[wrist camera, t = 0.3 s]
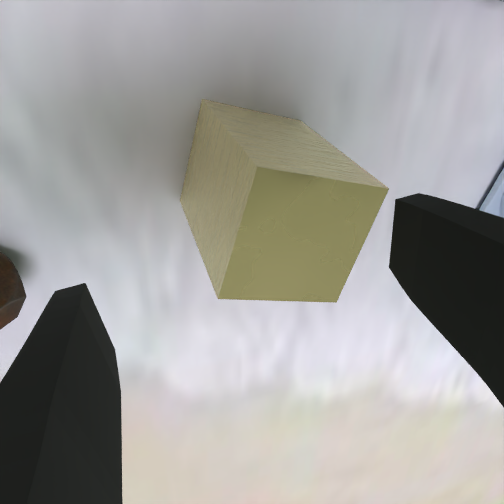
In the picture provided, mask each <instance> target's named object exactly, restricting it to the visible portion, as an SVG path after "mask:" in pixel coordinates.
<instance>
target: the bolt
mask: <svg viewBox="0 0 504 504" xmlns="http://www.w3.org/2000/svg"><path fill="white" fill-rule="evenodd" d="M25 299H26V294H25V290H24V287H23V283H22V281H21V278H20V276H19V274H18V271H17V270H16V268H15V266H14V264H13V263H12V262H11V260H10V259H9V258H8V257H7V256H6V255H5V254H3V253H2V252H0V329H2V328H3V327H4V326H6V325H7V324H8V323H10V322H11V321H12V320H14V319H15V318H17V317H18V315H19V312H20V310H21V308H22V306H23V303H24V301H25Z"/></svg>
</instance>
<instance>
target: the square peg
mask: <svg viewBox="0 0 504 504" xmlns="http://www.w3.org/2000/svg"><path fill="white" fill-rule="evenodd" d="M388 190H389V188H388V187H386V186H385V185H384V184H382V183H381V182H380V181H379V180H377V179H376V178H375V177H373V176H372V175H371V174H369V173H368V172H367V171H366V170H364V169H363V168H362V167H360V166H359V165H358V164H356V163H355V162H354V161H352V160H351V159H350V158H349V157H347V156H346V155H345V154H343V153H342V152H341V151H339V150H338V149H337V148H336V147H334V146H333V145H332V144H330V143H329V142H328V141H326V140H325V139H324V138H322V137H321V136H320V135H319V134H317V133H316V132H315V131H313V130H312V129H311V128H309V127H308V126H307V125H306V124H304V123H303V122H302V121H299V120H295V119H290V118H286V117H281V116H277V115H272V114H268V113H263V112H259V111H254V110H250V109H245V108H241V107H236V106H232V105H227V104H223V103H218V102H214V101H209V100H205V99H202V101H201V106H200V111H199V115H198V120H197V124H196V129H195V134H194V138H193V143H192V147H191V152H190V157H189V161H188V166H187V170H186V175H185V180H184V184H183V189H182V193H181V198H180V202H181V205H182V207H183V210H184V213H185V215H186V218H187V220H188V223H189V226H190V228H191V231H192V233H193V236H194V238H195V241H196V244H197V246H198V249H199V251H200V254H201V257H202V259H203V262H204V264H205V267H206V269H207V272H208V275H209V277H210V280H211V282H212V285H213V288H214V290H215V293H216V295H217V298H218V299H239V300H272V301H306V302H337V300H338V298H339V296H340V293H341V291H342V289H343V287H344V285H345V283H346V280H347V278H348V276H349V274H350V272H351V270H352V267H353V265H354V263H355V261H356V259H357V257H358V255H359V252H360V250H361V248H362V246H363V244H364V242H365V239H366V237H367V235H368V233H369V231H370V229H371V226H372V224H373V222H374V220H375V218H376V216H377V214H378V211H379V209H380V207H381V205H382V203H383V201H384V198H385V196H386V194H387V192H388Z"/></svg>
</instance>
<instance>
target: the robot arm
mask: <svg viewBox="0 0 504 504" xmlns="http://www.w3.org/2000/svg"><path fill="white" fill-rule="evenodd" d="M389 268H390V270H391V271H392V273H393V274H394V276H395V277H396V279H397V280H398V282H399V284H400V285H401V287H402V288H403V289H404V291H405V292H406V294H407V295H408V296H409V298H410V299H411V301H412V302H413V303H414V304H415V305H416V306H417V307H418V309H419V310H420V311H421V312H422V313H423V314H424V315H425V316H426V317H427V319H428V320H429V321H430V322H431V323H432V324H433V325H434V326H435V327H436V329H437V330H438V331H439V332H440V333H441V334H442V335H443V336H444V337H445V338H446V339H447V340H448V342H449V343H450V344H451V345H452V346H453V347H454V348H455V349H456V350H457V351H458V353H459V354H460V355H461V356H462V357H463V358H464V359H465V360H466V361H467V362H468V363H469V365H470V366H471V367H472V368H473V369H474V370H475V371H476V372H477V374H478V375H479V376H480V377H481V378H482V380H483V381H484V382H485V383H486V384H487V386H488V387H489V388H490V390H491V391H492V392H493V394H494V395H495V396H496V398H497V399H498V400H499V402H500V403H501V404H502V406H503V407H504V168H503V170H502V172H501V173H500V175H499V177H498V178H497V180H496V182H495V183H494V185H493V187H492V189H491V190H490V192H489V194H488V195H487V197H486V199H485V200H484V202H483V204H482V206H481V207H480V209H479V210H477V209H474V208H471V207H467V206H464V205H461V204H458V203H454V202H451V201H447V200H444V199H440V198H437V197H433V196H429V195H424V194H419V193H418V194H414V195H410V196H407V197H403V198H399V199H396V200H395V211H394V221H393V232H392V242H391V252H390V263H389ZM0 504H122V435H121V389H120V382H119V374H118V367H117V360H116V353H115V349H114V346H113V344H112V342H111V340H110V337H109V335H108V333H107V331H106V328H105V326H104V324H103V322H102V319H101V317H100V315H99V313H98V310H97V308H96V306H95V304H94V301H93V299H92V297H91V295H90V292H89V290H88V288H87V286H86V283H83V284H80V285H76V286H72V287H69V288H65V289H61V290H57V291H55V292H54V294H53V295H52V297H51V299H50V300H49V302H48V304H47V305H46V307H45V309H44V311H43V312H42V314H41V316H40V318H39V319H38V321H37V323H36V325H35V326H34V328H33V330H32V332H31V333H30V335H29V337H28V338H27V340H26V342H25V344H24V345H23V347H22V349H21V350H20V352H19V353H18V355H17V357H16V358H15V360H14V362H13V363H12V365H11V367H10V368H9V370H8V371H7V373H6V375H5V376H4V378H3V379H2V381H1V382H0Z"/></svg>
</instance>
